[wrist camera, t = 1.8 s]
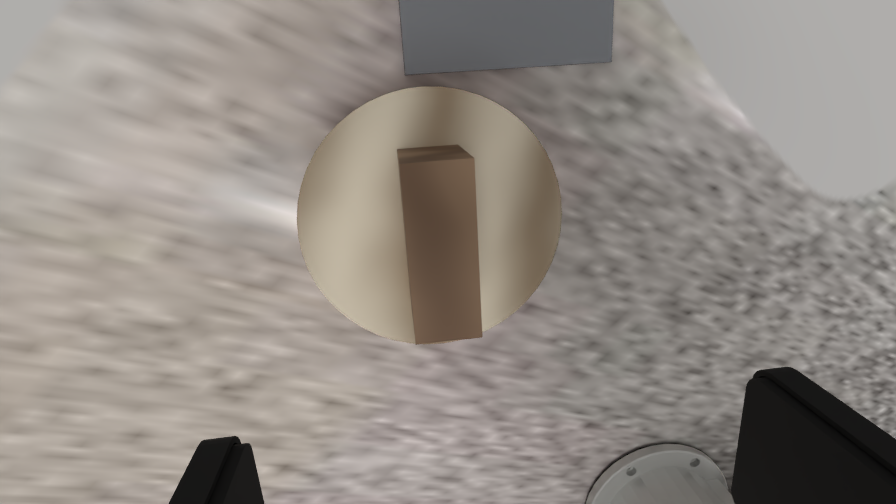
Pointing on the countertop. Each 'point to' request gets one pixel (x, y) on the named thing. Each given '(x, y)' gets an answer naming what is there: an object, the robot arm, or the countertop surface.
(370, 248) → the lid
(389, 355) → the countertop surface
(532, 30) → the mat
